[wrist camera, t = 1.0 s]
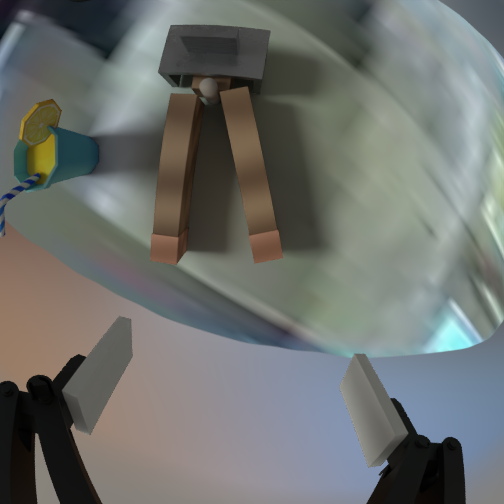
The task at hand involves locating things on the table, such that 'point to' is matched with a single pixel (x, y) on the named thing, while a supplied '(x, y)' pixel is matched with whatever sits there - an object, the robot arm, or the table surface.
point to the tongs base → (180, 166)
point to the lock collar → (214, 53)
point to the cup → (48, 153)
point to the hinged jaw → (251, 174)
